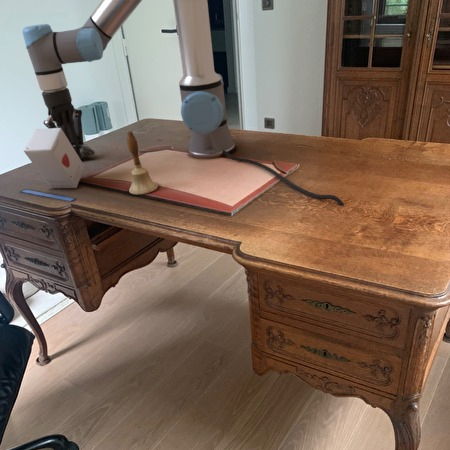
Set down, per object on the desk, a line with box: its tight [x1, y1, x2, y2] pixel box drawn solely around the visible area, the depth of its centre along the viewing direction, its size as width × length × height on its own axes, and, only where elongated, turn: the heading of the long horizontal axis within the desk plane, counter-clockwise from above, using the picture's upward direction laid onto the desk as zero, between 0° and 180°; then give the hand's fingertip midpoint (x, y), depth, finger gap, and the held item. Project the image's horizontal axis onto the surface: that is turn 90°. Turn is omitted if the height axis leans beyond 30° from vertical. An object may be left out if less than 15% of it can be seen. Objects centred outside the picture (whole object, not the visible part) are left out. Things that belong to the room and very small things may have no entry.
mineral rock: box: [80, 143, 96, 159], centre depth 152 cm, size 13×11×10 cm
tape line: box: [21, 189, 75, 202], centre depth 129 cm, size 22×2×1 cm, turn 58°
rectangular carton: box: [23, 127, 86, 189], centre depth 128 cm, size 9×9×15 cm
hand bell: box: [126, 130, 159, 196], centre depth 121 cm, size 8×8×16 cm
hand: (79, 170), depth 138 cm, fingers closed
